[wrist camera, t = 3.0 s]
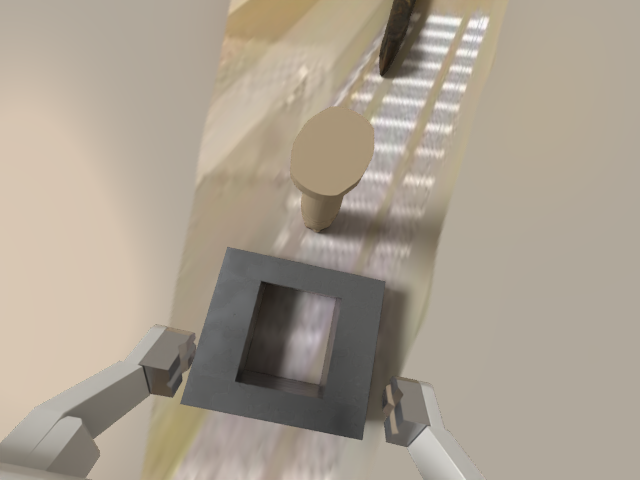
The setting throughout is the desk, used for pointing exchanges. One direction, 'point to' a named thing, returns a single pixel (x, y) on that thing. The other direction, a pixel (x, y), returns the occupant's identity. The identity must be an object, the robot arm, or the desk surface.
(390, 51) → the hand tool
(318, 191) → the handle
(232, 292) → the jig
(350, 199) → the desk surface
